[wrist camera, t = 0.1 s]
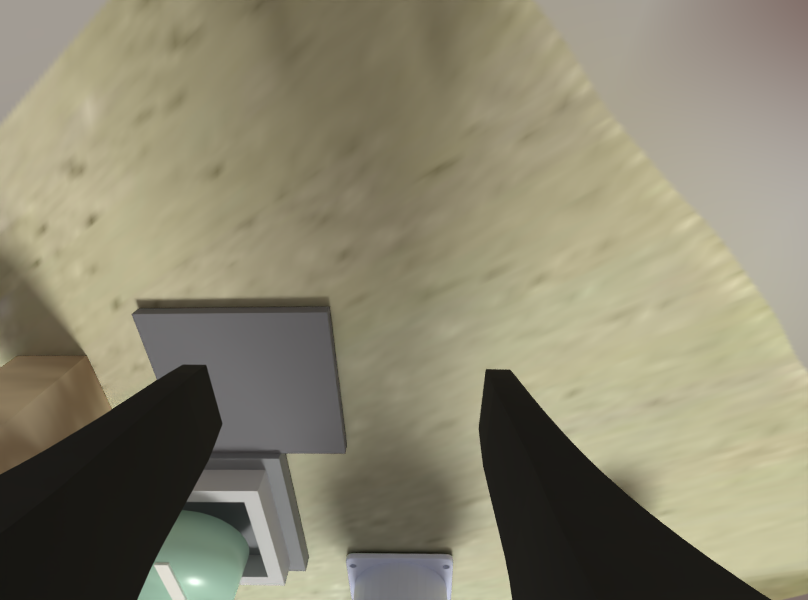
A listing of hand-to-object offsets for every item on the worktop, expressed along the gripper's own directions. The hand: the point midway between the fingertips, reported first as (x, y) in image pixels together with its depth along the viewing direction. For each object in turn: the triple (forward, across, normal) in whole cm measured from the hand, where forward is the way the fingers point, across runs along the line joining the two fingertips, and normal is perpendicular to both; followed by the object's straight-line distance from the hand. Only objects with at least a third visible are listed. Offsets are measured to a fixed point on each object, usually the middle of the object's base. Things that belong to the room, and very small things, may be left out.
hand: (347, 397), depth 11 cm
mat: (+10, +7, +8) cm, 15 cm away
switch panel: (+10, +12, +19) cm, 25 cm away
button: (+7, +12, +19) cm, 24 cm away
